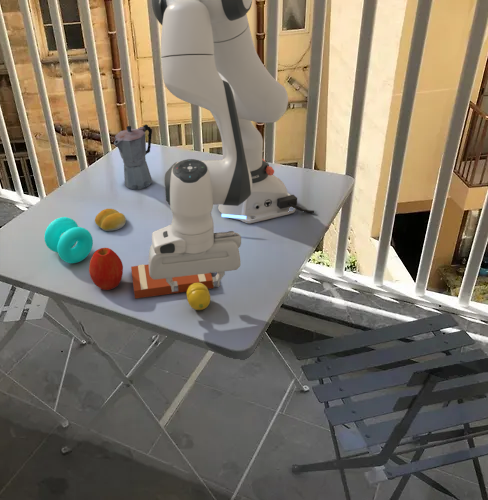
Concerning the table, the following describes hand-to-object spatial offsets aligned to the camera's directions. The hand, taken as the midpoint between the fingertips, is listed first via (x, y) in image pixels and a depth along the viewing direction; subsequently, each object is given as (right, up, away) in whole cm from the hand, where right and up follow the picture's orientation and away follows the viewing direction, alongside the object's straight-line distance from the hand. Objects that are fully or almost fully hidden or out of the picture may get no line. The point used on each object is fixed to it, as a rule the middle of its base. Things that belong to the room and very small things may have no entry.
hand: (195, 287), depth 127 cm
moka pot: (-16, +30, +57) cm, 66 cm away
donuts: (-32, +7, +24) cm, 41 cm away
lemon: (+1, -4, +3) cm, 5 cm away
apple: (-21, 0, +12) cm, 24 cm away
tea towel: (-5, +1, +11) cm, 13 cm away
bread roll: (-23, +16, +36) cm, 46 cm away
